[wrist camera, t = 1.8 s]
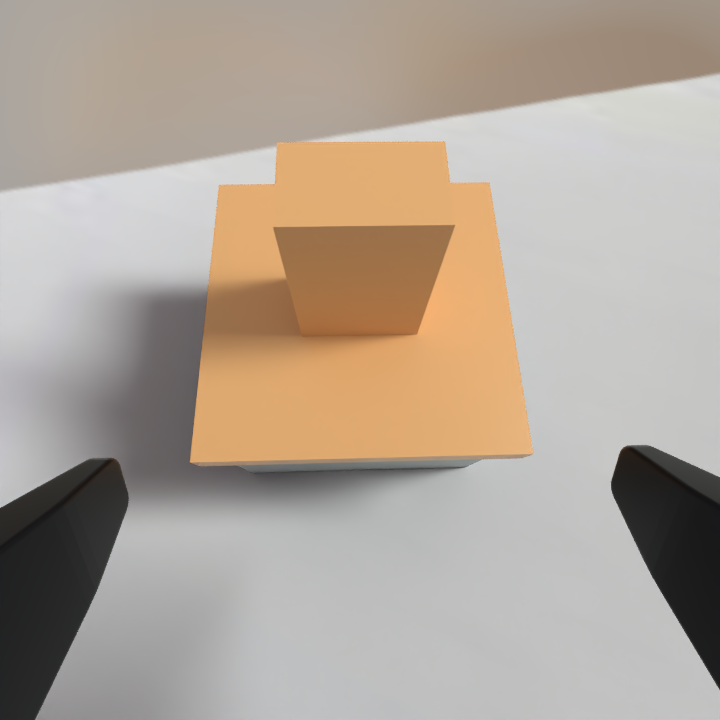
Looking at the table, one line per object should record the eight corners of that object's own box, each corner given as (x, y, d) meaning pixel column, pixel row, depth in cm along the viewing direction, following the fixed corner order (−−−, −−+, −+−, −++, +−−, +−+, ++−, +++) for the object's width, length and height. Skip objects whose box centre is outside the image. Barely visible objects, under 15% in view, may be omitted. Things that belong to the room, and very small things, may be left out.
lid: (509, 462, 16) (656, 407, 8) (210, 470, 16) (76, 420, 8) (474, 218, 20) (553, 23, 12) (233, 220, 19) (155, 23, 12)
